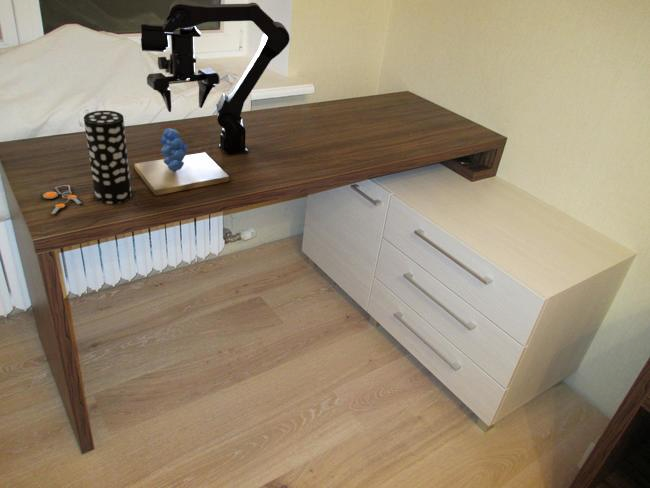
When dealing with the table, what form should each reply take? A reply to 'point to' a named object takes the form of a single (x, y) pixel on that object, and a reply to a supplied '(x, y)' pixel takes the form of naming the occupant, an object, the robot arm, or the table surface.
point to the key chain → (54, 194)
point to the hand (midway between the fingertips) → (185, 109)
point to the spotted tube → (108, 156)
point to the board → (181, 174)
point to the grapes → (173, 149)
